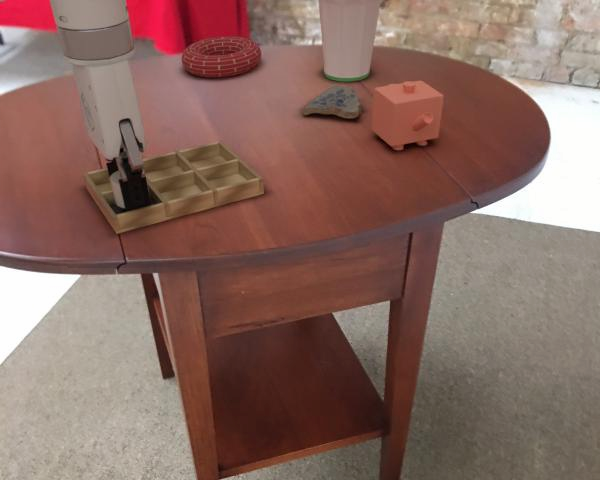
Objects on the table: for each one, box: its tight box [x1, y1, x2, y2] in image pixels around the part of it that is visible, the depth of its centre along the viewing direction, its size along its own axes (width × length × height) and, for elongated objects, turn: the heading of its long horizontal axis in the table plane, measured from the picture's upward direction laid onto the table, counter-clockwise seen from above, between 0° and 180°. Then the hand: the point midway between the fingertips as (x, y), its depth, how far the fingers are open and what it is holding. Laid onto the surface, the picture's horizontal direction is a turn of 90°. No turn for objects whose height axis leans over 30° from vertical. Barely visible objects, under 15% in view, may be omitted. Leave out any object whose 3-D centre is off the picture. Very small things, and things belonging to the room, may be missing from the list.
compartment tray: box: [82, 140, 265, 235], centre depth 85 cm, size 20×14×2 cm
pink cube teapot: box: [371, 79, 445, 151], centre depth 93 cm, size 8×12×8 cm, turn 21°
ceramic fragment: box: [302, 84, 363, 119], centre depth 104 cm, size 11×3×10 cm
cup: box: [318, 0, 381, 83], centre depth 112 cm, size 12×12×15 cm
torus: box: [181, 36, 262, 78], centre depth 120 cm, size 16×14×4 cm
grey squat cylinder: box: [110, 171, 150, 208], centre depth 79 cm, size 4×4×3 cm
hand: (131, 197), depth 80 cm, fingers closed on grey squat cylinder, 4 cm apart
